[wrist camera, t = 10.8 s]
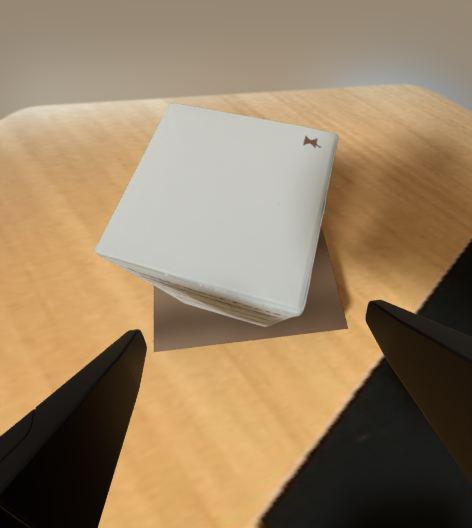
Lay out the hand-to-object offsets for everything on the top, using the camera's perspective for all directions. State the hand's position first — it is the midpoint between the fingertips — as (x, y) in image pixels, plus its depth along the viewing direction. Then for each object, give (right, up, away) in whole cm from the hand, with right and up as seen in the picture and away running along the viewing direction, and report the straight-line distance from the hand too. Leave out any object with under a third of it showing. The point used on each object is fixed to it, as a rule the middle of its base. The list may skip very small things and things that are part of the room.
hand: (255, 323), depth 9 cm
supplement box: (-1, +1, +11) cm, 11 cm away
